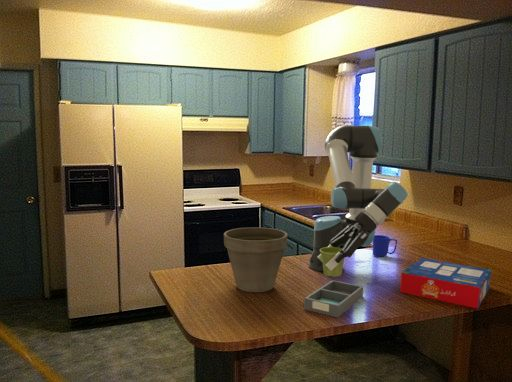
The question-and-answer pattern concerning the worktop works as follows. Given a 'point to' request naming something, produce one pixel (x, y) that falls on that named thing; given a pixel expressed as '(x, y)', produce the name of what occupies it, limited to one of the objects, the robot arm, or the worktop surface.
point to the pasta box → (446, 282)
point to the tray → (333, 298)
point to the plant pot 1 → (255, 256)
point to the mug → (382, 245)
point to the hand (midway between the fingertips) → (323, 263)
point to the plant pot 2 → (327, 256)
